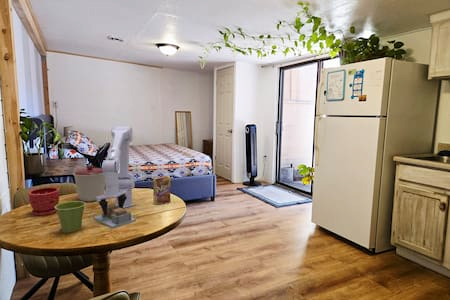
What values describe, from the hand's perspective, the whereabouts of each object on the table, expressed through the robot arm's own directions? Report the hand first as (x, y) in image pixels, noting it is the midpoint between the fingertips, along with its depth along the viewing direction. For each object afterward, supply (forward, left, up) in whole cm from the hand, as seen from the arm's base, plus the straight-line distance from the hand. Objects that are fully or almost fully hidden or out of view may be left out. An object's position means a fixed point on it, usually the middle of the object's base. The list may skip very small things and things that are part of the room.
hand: (113, 212), depth 133 cm
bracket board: (+1, 0, -3) cm, 4 cm away
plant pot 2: (-2, -18, -4) cm, 18 cm away
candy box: (-3, +31, -4) cm, 31 cm away
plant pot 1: (-35, -18, -4) cm, 40 cm away
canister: (-41, +8, -4) cm, 42 cm away
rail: (+2, 0, -2) cm, 3 cm away
